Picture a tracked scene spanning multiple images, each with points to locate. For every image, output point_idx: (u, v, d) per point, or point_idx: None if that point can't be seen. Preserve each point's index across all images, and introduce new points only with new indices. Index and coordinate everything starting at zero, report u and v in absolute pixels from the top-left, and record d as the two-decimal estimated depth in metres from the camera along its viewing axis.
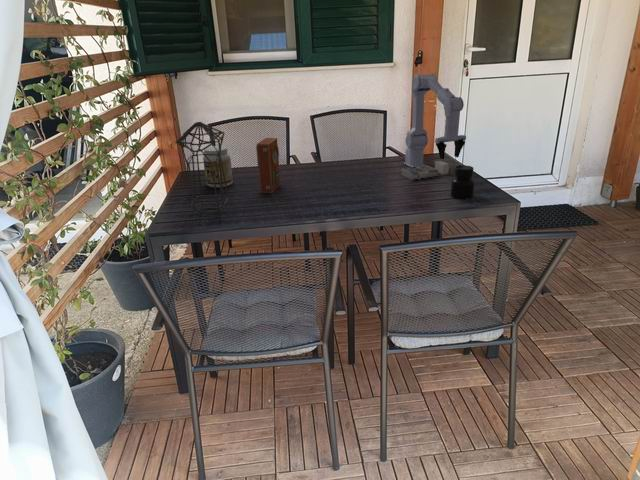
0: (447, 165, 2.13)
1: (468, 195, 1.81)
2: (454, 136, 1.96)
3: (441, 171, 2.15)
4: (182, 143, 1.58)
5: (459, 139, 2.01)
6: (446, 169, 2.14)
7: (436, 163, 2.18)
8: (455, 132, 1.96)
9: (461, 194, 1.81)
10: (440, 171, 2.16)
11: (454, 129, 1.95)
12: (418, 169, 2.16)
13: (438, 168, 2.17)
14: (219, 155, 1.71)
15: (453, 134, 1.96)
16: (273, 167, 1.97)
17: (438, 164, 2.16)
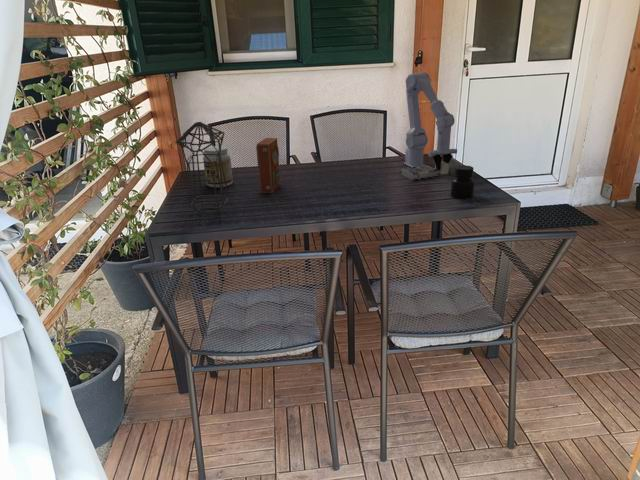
0: (447, 165, 2.13)
1: (468, 195, 1.81)
2: (446, 150, 2.11)
3: (441, 171, 2.15)
4: (182, 143, 1.58)
5: (451, 152, 2.15)
6: (446, 169, 2.14)
7: None
8: (447, 146, 2.10)
9: (461, 194, 1.81)
10: (440, 171, 2.16)
11: (446, 143, 2.09)
12: (418, 169, 2.16)
13: None
14: (219, 155, 1.71)
15: (445, 148, 2.10)
16: (273, 167, 1.97)
17: None
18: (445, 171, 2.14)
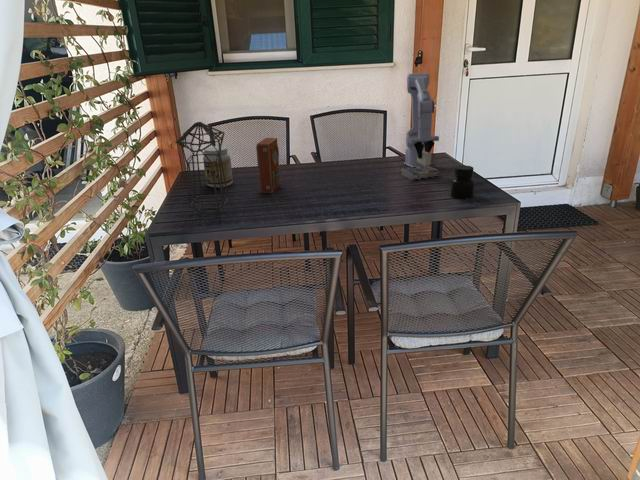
0: (429, 155, 2.07)
1: (468, 195, 1.81)
2: (427, 137, 2.05)
3: (423, 161, 2.08)
4: (182, 143, 1.58)
5: (432, 140, 2.09)
6: (428, 159, 2.08)
7: None
8: (428, 133, 2.04)
9: (461, 194, 1.81)
10: (422, 162, 2.09)
11: (427, 130, 2.03)
12: (418, 169, 2.16)
13: None
14: (219, 155, 1.71)
15: (426, 135, 2.04)
16: (273, 167, 1.97)
17: None
18: (427, 161, 2.08)
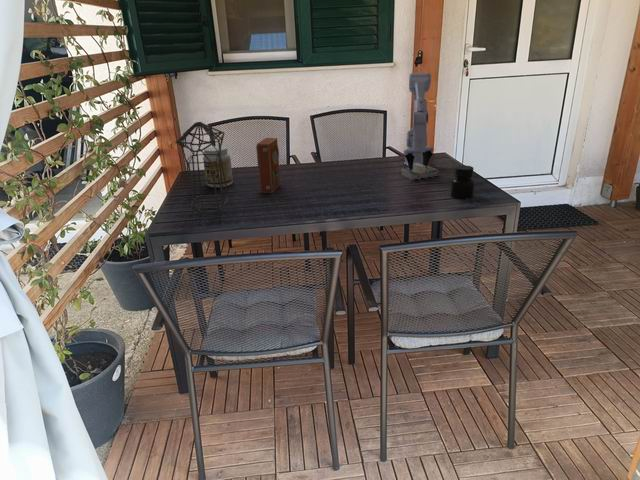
0: (424, 167, 2.08)
1: (468, 195, 1.81)
2: (421, 148, 2.06)
3: None
4: (182, 143, 1.58)
5: (427, 151, 2.10)
6: (423, 171, 2.09)
7: (413, 165, 2.13)
8: (422, 144, 2.05)
9: (461, 194, 1.81)
10: None
11: (421, 141, 2.05)
12: None
13: (415, 170, 2.12)
14: (219, 155, 1.71)
15: (420, 146, 2.05)
16: (273, 167, 1.97)
17: (415, 166, 2.11)
18: None
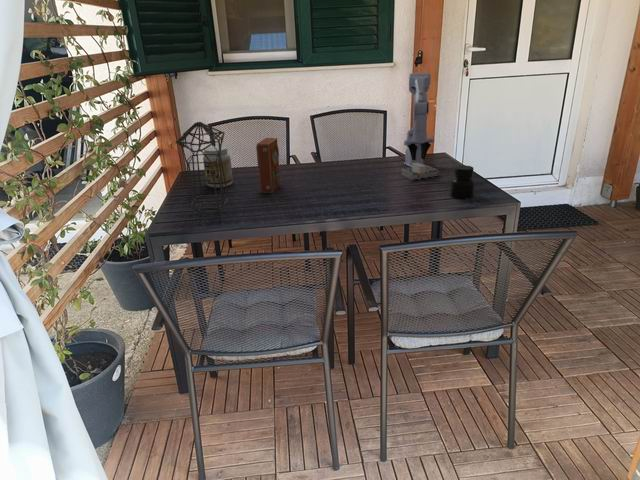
0: (424, 167, 2.08)
1: (468, 195, 1.81)
2: (422, 139, 2.04)
3: None
4: (182, 143, 1.58)
5: (427, 141, 2.09)
6: (423, 171, 2.09)
7: (413, 165, 2.13)
8: (423, 135, 2.04)
9: (461, 194, 1.81)
10: None
11: (422, 132, 2.03)
12: None
13: (415, 170, 2.12)
14: (219, 155, 1.71)
15: (421, 137, 2.04)
16: (273, 167, 1.97)
17: (415, 166, 2.11)
18: None
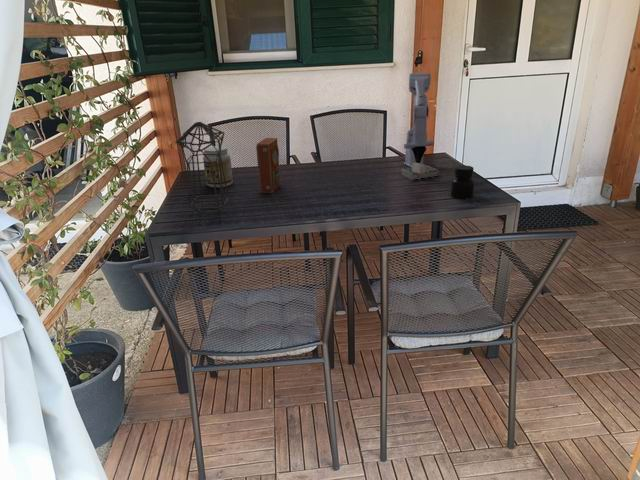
0: (424, 167, 2.08)
1: (468, 195, 1.81)
2: (422, 142, 2.05)
3: None
4: (182, 143, 1.58)
5: (427, 145, 2.09)
6: (423, 171, 2.09)
7: (413, 165, 2.13)
8: (423, 138, 2.04)
9: (461, 194, 1.81)
10: None
11: (422, 135, 2.04)
12: None
13: (415, 170, 2.12)
14: (219, 155, 1.71)
15: (421, 140, 2.04)
16: (273, 167, 1.97)
17: (415, 166, 2.11)
18: None
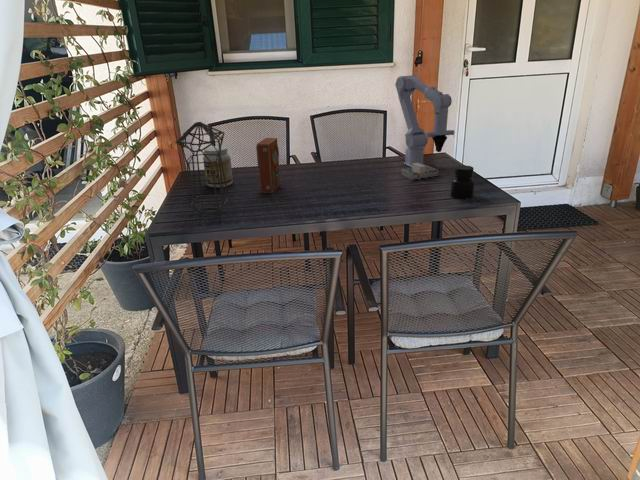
0: (424, 167, 2.08)
1: (468, 195, 1.81)
2: (443, 131, 2.09)
3: None
4: (182, 143, 1.58)
5: (448, 134, 2.13)
6: (423, 171, 2.09)
7: (413, 165, 2.13)
8: (444, 127, 2.08)
9: (461, 194, 1.81)
10: None
11: (443, 124, 2.07)
12: None
13: (415, 170, 2.12)
14: (219, 155, 1.71)
15: (442, 129, 2.08)
16: (273, 167, 1.97)
17: (415, 166, 2.11)
18: None
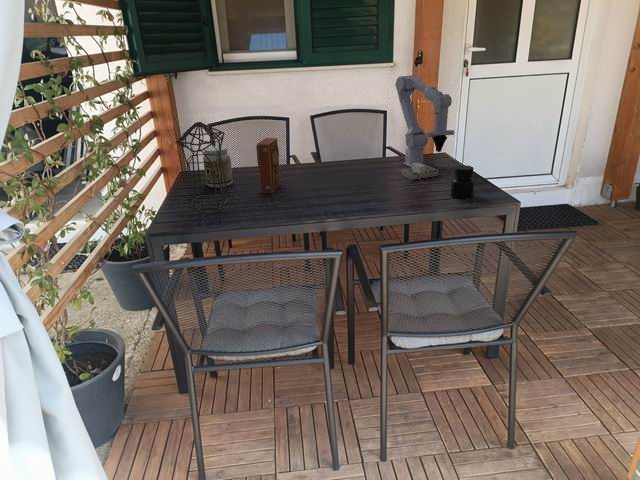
0: (424, 167, 2.08)
1: (468, 195, 1.81)
2: (443, 131, 2.09)
3: None
4: (182, 143, 1.58)
5: (448, 134, 2.13)
6: (423, 171, 2.09)
7: (413, 165, 2.13)
8: (444, 127, 2.08)
9: (461, 194, 1.81)
10: None
11: (443, 124, 2.07)
12: None
13: (415, 170, 2.12)
14: (219, 155, 1.71)
15: (442, 129, 2.08)
16: (273, 167, 1.97)
17: (415, 166, 2.11)
18: None
